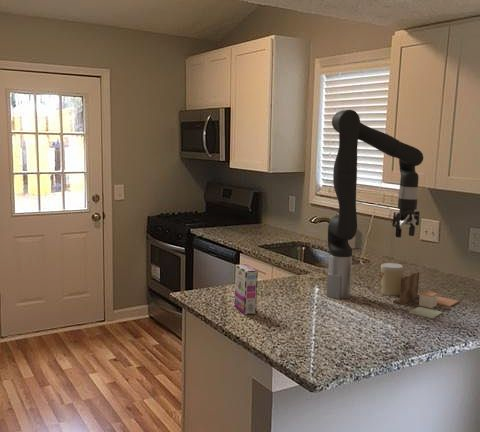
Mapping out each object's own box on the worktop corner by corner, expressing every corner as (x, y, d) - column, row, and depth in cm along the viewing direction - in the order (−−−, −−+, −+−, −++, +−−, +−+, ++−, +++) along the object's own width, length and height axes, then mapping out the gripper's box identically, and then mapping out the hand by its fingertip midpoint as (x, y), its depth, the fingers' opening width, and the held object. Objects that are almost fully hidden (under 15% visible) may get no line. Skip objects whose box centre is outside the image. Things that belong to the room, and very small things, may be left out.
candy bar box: (257, 314, 190) (258, 270, 188) (244, 315, 188) (245, 271, 186) (246, 305, 200) (247, 263, 198) (233, 306, 199) (234, 264, 196)
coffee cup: (382, 288, 228) (384, 261, 226) (404, 292, 223) (406, 264, 221) (376, 293, 220) (377, 265, 218) (398, 297, 215) (400, 269, 213)
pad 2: (450, 306, 204) (450, 305, 204) (427, 301, 210) (427, 300, 210) (458, 302, 211) (458, 300, 211) (436, 297, 217) (436, 296, 217)
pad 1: (432, 318, 190) (432, 317, 189) (409, 312, 196) (409, 311, 195) (442, 313, 196) (442, 312, 196) (419, 307, 202) (419, 306, 202)
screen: (402, 304, 205) (404, 277, 204) (392, 302, 208) (394, 275, 206) (417, 297, 215) (419, 271, 214) (408, 295, 218) (410, 269, 217)
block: (431, 308, 202) (432, 296, 201) (419, 305, 205) (419, 293, 205) (436, 305, 206) (437, 293, 205) (424, 302, 209) (425, 290, 208)
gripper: (404, 199, 207) (401, 239, 209) (426, 198, 215) (423, 236, 217) (389, 197, 213) (386, 236, 215) (411, 196, 221) (408, 233, 223)
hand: (404, 236), depth 216 cm, fingers open, 8 cm apart
